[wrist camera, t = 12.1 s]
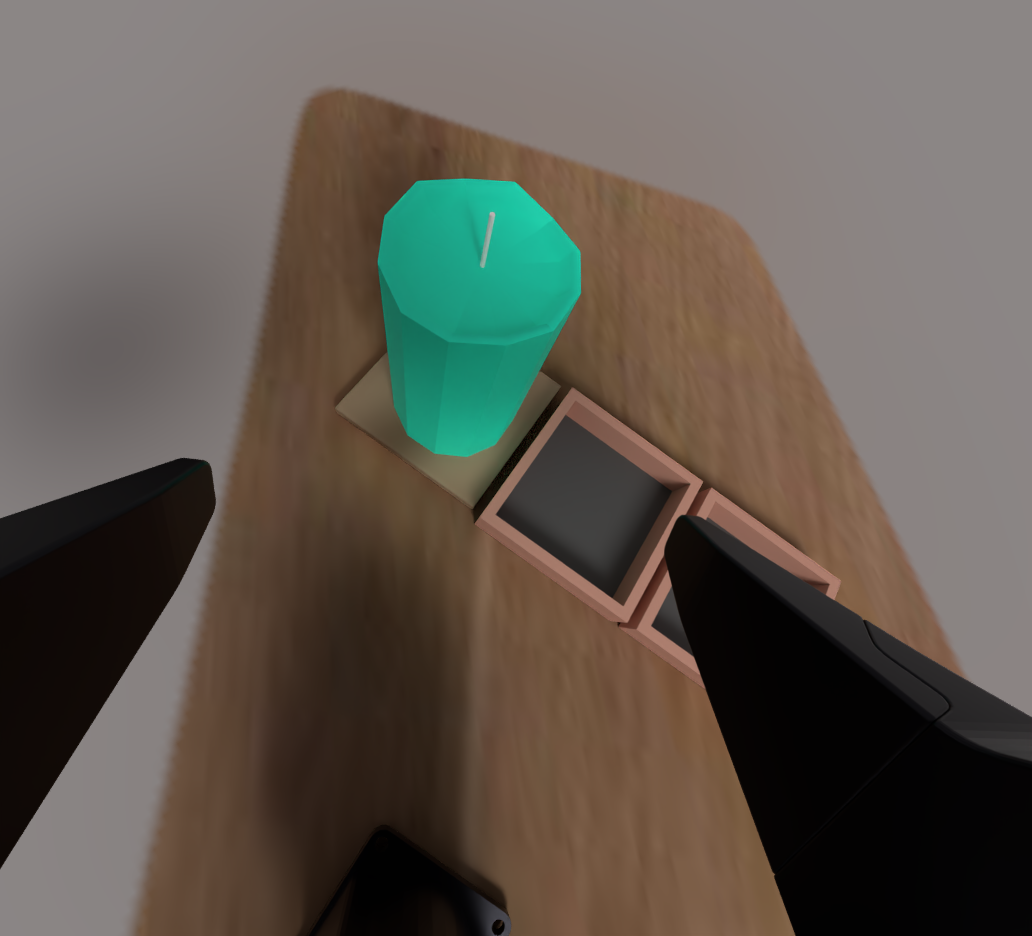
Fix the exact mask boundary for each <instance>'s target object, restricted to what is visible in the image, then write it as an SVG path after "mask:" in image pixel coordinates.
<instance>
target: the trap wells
mask: <svg viewBox="0 0 1032 936" xmlns="http://www.w3.org/2000/svg"><path fill="white" fill-rule="evenodd" d="M702 483H703V481H702V480H700V479H699V478H698V477H696V476H695V475H693V474H692V473H691V472H689V471H688V470H687V469H685V468H684V467H682V466H681V465H680V464H678V463H677V462H675V461H674V460H673V459H671V458H670V457H668V456H667V455H666V454H664V453H663V452H662V451H660V450H659V449H657V448H656V447H655V446H653V445H652V444H650V443H649V442H648V441H646V440H645V439H644V438H642V437H641V436H639V435H638V434H637V433H635V432H634V431H632V430H631V429H630V428H628V427H627V426H625V425H624V424H623V423H621V422H620V421H619V420H617V419H616V418H614V417H613V416H612V415H610V414H609V413H607V412H606V411H605V410H603V409H602V408H601V407H599V406H598V405H596V404H595V403H594V402H592V401H591V400H589V399H588V398H587V397H585V396H584V395H582V394H581V393H580V392H578V391H577V390H576V389H574V388H573V387H572V389H571V390H570V391H569V393H568V394H567V395H566V397H565V398H564V400H563V401H562V402H561V404H560V405H559V406H558V408H557V409H556V411H555V412H554V413H553V415H552V416H551V418H550V419H549V420H548V422H547V423H546V425H545V426H544V427H543V429H542V430H541V432H540V433H539V434H538V436H537V437H536V439H535V440H534V441H533V443H532V444H531V446H530V447H529V448H528V450H527V451H526V453H525V454H524V455H523V457H522V458H521V460H520V461H519V462H518V464H517V465H516V467H515V468H514V469H513V471H512V472H511V474H510V475H509V476H508V478H507V479H506V481H505V482H504V483H503V485H502V486H501V488H500V489H499V490H498V492H497V493H496V495H495V496H494V497H493V499H492V500H491V502H490V503H489V504H488V506H487V507H486V509H485V510H484V511H483V513H482V514H481V516H480V517H479V518H478V520H477V521H476V523H475V525H476V526H478V527H479V528H481V529H482V530H483V531H485V532H486V533H488V534H489V535H490V536H492V537H493V538H495V539H496V540H497V541H499V542H500V543H502V544H503V545H504V546H506V547H507V548H509V549H510V550H511V551H513V552H514V553H516V554H517V555H518V556H520V557H521V558H523V559H524V560H525V561H527V562H528V563H530V564H531V565H532V566H534V567H535V568H537V569H538V570H539V571H541V572H542V573H543V574H545V575H546V576H548V577H549V578H550V579H552V580H553V581H555V582H556V583H557V584H559V585H560V586H562V587H563V588H564V589H566V590H567V591H569V592H570V593H571V594H573V595H574V596H576V597H577V598H578V599H580V600H581V601H583V602H584V603H585V604H587V605H588V606H590V607H591V608H592V609H594V610H595V611H597V612H598V613H599V614H601V615H602V616H604V617H605V618H606V619H608V620H609V621H614V622H621V623H620V625H619V628H620V629H622V630H623V631H624V632H626V633H627V634H629V635H630V636H631V637H633V638H634V639H636V640H637V641H638V642H640V643H641V644H643V645H644V646H645V647H647V648H648V649H650V650H651V651H652V652H654V653H655V654H657V655H658V656H659V657H661V658H662V659H664V660H665V661H666V662H668V663H669V664H671V665H672V666H673V667H675V668H676V669H678V670H679V671H680V672H682V673H683V674H684V675H686V676H687V677H689V678H690V679H691V680H693V681H694V682H696V683H697V684H698V685H700V686H701V687H703V688H704V689H705V686H704V683H703V681H702V678H701V675H700V673H699V670H698V667H697V664H696V662H695V659H694V656H693V653H692V651H691V648H690V645H689V643H688V640H687V637H686V634H685V632H684V629H683V626H682V623H681V620H680V616H679V613H678V609H677V605H676V601H675V597H674V593H673V589H672V585H671V581H670V577H669V573H668V569H667V565H666V561H665V557H664V548H665V544H666V541H667V539H668V537H669V535H670V532H671V530H672V528H673V526H674V523H675V521H676V519H677V518H678V517H679V516H680V515H693V516H699V517H702V518H703V519H705V520H707V521H708V522H710V523H711V524H713V525H715V526H716V527H718V528H719V529H721V530H723V531H724V532H726V533H727V534H729V535H731V536H732V537H734V538H735V539H737V540H739V541H740V542H742V543H743V544H745V545H747V546H748V547H750V548H751V549H753V550H755V551H756V552H758V553H760V554H761V555H763V556H764V557H766V558H768V559H769V560H771V561H772V562H774V563H776V564H777V565H779V566H780V567H782V568H784V569H785V570H787V571H788V572H790V573H792V574H793V575H795V576H796V577H798V578H800V579H801V580H803V581H804V582H806V583H808V584H809V585H811V586H812V587H814V588H816V589H817V590H819V591H820V592H822V593H824V594H825V595H827V596H828V597H830V598H832V599H833V600H835V597H836V594H837V592H838V589H839V586H840V584H841V581H840V580H839V579H838V578H836V577H835V576H834V575H832V574H831V573H829V572H828V571H827V570H825V569H824V568H822V567H821V566H820V565H818V564H817V563H816V562H814V561H813V560H811V559H810V558H809V557H807V556H806V555H804V554H803V553H802V552H800V551H799V550H797V549H796V548H795V547H793V546H792V545H791V544H789V543H788V542H786V541H785V540H784V539H782V538H781V537H779V536H778V535H777V534H775V533H774V532H773V531H771V530H770V529H768V528H767V527H766V526H764V525H763V524H761V523H760V522H759V521H757V520H756V519H754V518H753V517H752V516H750V515H749V514H748V513H746V512H745V511H743V510H742V509H741V508H739V507H738V506H736V505H735V504H734V503H732V502H731V501H730V500H728V499H727V498H725V497H724V496H723V495H721V494H720V493H718V492H717V491H716V490H714V489H713V488H709V489H706V490H704V491H701V492H698V491H699V489H700V487H701V485H702ZM697 492H698V493H697ZM705 690H706V689H705Z"/></svg>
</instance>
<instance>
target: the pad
mask: <svg viewBox="0 0 1032 936" xmlns="http://www.w3.org/2000/svg"><path fill="white" fill-rule="evenodd" d="M560 387H561V386H560V385H559V384H558V383H556V382H555V381H553V380H552V379H551V378H549V377H548V376H546V375H545V374H544V373H542V372H541V371H540V370H539V372H538V374H537V376H536V378H535V380H534V382H533V383H532V385H531V387H530V389H529V391H528V393H527V395H526V396H525V398H524V400H523V402H522V404H521V406H520V408H519V409H518V411H517V413H516V415H515V417H514V419H513V421H512V422H511V424H510V425H509V426H508V428H507V429H506V431H505V432H504V433H503V435H502V436H501V438H500V439H499V440H498V442H497V443H496V445H494V446H491V447H489V448H487V449H484V450H482V451H480V452H477V453H475V454H473V455H471V456H468V457H462V456H452V455H443V454H434V453H433V452H431V451H430V450H428V449H427V448H426V447H424V446H423V445H421V444H420V443H418V442H417V441H415V440H414V439H412V438H411V437H409V436H408V435H407V433H406V431H405V429H404V427H403V425H402V423H401V420H400V418H399V416H398V414H397V412H396V410H395V408H394V401H393V393H392V384H391V375H390V367H389V358H388V351H387V352H386V353H385V354H384V355H383V356H382V357H381V359H380V360H379V361H378V362H377V363H376V364H375V365H374V366H373V367H372V368H371V369H370V370H369V371H368V373H367V374H366V375H365V376H364V377H363V378H362V379H361V380H360V381H359V382H358V383H357V384H356V385H355V387H354V388H353V389H352V390H351V391H350V392H349V393H348V394H347V395H346V396H345V397H344V398H343V399H342V401H341V402H340V403H339V404H338V405H337V406H336V407H335V410H336V412H337V413H338V414H339V415H341V416H342V417H343V418H345V419H346V420H348V421H349V422H350V423H352V424H353V425H355V426H356V427H357V428H359V429H360V430H362V431H363V432H364V433H366V434H367V435H369V436H370V437H371V438H373V439H374V440H376V441H377V442H378V443H380V444H381V445H383V446H384V447H385V448H387V449H388V450H389V451H391V452H392V453H394V454H395V455H396V456H398V457H399V458H401V459H402V460H403V461H405V462H406V463H408V464H409V465H410V466H412V467H413V468H415V469H416V470H417V471H419V472H420V473H422V474H423V475H424V476H426V477H427V478H429V479H430V480H431V481H433V482H434V483H436V484H437V485H438V486H440V487H441V488H443V489H444V490H445V491H447V492H448V493H449V494H451V495H452V496H454V497H455V498H456V499H458V500H459V501H461V502H462V503H463V504H465V505H466V506H468V507H469V508H470V509H473V508H474V506H475V505H476V503H477V502H478V501H479V499H480V498H481V496H482V495H483V494H484V492H485V491H486V490H487V488H488V487H489V485H490V484H491V483H492V481H493V480H494V479H495V477H496V476H497V474H498V473H499V472H500V470H501V469H502V468H503V466H504V465H505V463H506V462H507V461H508V459H509V458H510V457H511V455H512V454H513V452H514V451H515V450H516V448H517V447H518V446H519V444H520V443H521V441H522V440H523V439H524V437H525V436H526V435H527V433H528V432H529V430H530V429H531V428H532V426H533V425H534V424H535V422H536V421H537V419H538V418H539V417H540V415H541V414H542V412H543V411H544V410H545V408H546V407H547V406H548V404H549V403H550V401H551V400H552V399H553V397H554V396H555V395H556V393H557V392H558V390H559V389H560Z"/></svg>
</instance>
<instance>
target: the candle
mask: <svg viewBox="0 0 1032 936" xmlns="http://www.w3.org/2000/svg"><path fill="white" fill-rule="evenodd" d="M378 271H379V280H380V289H381V297H382V306H383V315H384V323H385V332H386V341H387V349H388V358H389V367H390V375H391V384H392V393H393V401H394V408H395V410H396V412H397V414H398V416H399V418H400V420H401V423H402V425H403V427H404V429H405V431H406V433H407V435H408V436H409V437H411V438H412V439H414V440H415V441H417V442H418V443H420V444H421V445H423V446H424V447H426V448H427V449H428V450H430V451H431V452H433V453H434V454H443V455H452V456H462V457H468V456H471V455H473V454H475V453H477V452H480V451H482V450H484V449H487V448H489V447H491V446H494V445H496V443H497V442H498V440H499V439H500V438H501V436H502V435H503V433H504V432H505V431H506V429H507V428H508V426H509V425H510V424H511V422H512V421H513V419H514V417H515V415H516V413H517V411H518V409H519V408H520V406H521V404H522V402H523V400H524V398H525V396H526V395H527V393H528V391H529V389H530V387H531V385H532V383H533V382H534V380H535V378H536V376H537V374H538V372H539V370H540V369H541V367H542V365H543V363H544V361H545V359H546V357H547V356H548V354H549V352H550V350H551V348H552V346H553V344H554V343H555V341H556V339H557V337H558V335H559V333H560V331H561V330H562V328H563V326H564V324H565V322H566V320H567V318H568V317H569V315H570V313H571V311H572V309H573V307H574V305H575V304H576V302H577V300H578V298H579V296H580V294H581V260H580V250H579V249H578V248H577V247H576V245H575V244H574V243H573V242H572V241H571V239H570V238H569V237H568V236H567V234H566V233H565V232H564V231H563V230H562V228H561V227H560V226H559V225H558V223H557V222H556V221H555V220H554V219H553V218H552V217H551V216H550V215H549V214H548V213H547V212H546V211H545V210H544V209H543V208H542V207H541V206H540V205H539V204H538V203H537V202H536V201H535V200H534V199H533V198H531V197H530V196H529V195H528V194H527V193H526V192H525V191H524V190H523V189H522V188H521V187H520V186H519V185H518V184H517V183H516V182H509V181H494V180H479V179H444V180H424V181H417V182H416V183H415V184H414V185H413V186H412V187H411V188H410V189H409V190H408V191H407V192H406V193H405V194H404V195H403V197H402V198H401V199H400V200H399V201H398V202H397V203H396V204H395V205H394V206H393V207H392V208H391V209H390V210H389V212H388V213H387V214H386V215H385V216H384V222H383V229H382V236H381V243H380V249H379V256H378Z"/></svg>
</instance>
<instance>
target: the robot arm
mask: <svg viewBox="0 0 1032 936" xmlns="http://www.w3.org/2000/svg"><path fill="white" fill-rule="evenodd" d="M215 505H216V498H215V491H214V484H213V477H212V470H211V466H210V464H209V463H208V462H206V461H204V460H198V459H189V458H180V459H176V460H173V461H170V462H167V463H164V464H161V465H158V466H155V467H152V468H149V469H146V470H143V471H140V472H137V473H134V474H131V475H128V476H125V477H123V478H119V479H116V480H114V481H111V482H108V483H104V484H102V485H98V486H96V487H93V488H90V489H87V490H84V491H81V492H78V493H75V494H72V495H69V496H66V497H63V498H60V499H57V500H54V501H51V502H48V503H45V504H42V505H39V506H36V507H33V508H30V509H27V510H24V511H21V512H18V513H15V514H12V515H9V516H6V517H3V518H0V869H1V867H2V865H3V864H4V862H5V861H6V859H7V857H8V856H9V854H10V853H11V851H12V849H13V848H14V846H15V845H16V843H17V842H18V840H19V838H20V837H21V835H22V834H23V832H24V830H25V829H26V827H27V826H28V824H29V822H30V821H31V819H32V818H33V816H34V815H35V813H36V811H37V810H38V808H39V807H40V805H41V804H42V802H43V800H44V799H45V797H46V795H47V794H48V792H49V791H50V789H51V788H52V786H53V784H54V783H55V781H56V780H57V778H58V777H59V775H60V773H61V772H62V770H63V769H64V767H65V765H66V764H67V762H68V761H69V759H70V757H71V756H72V754H73V753H74V751H75V750H76V748H77V746H78V745H79V743H80V742H81V740H82V739H83V737H84V735H85V734H86V732H87V731H88V729H89V727H90V726H91V724H92V723H93V721H94V719H95V718H96V716H97V715H98V713H99V711H100V710H101V708H102V707H103V705H104V703H105V702H106V700H107V699H108V697H109V696H110V694H111V693H112V691H113V689H114V688H115V686H116V685H117V683H118V681H119V680H120V678H121V677H122V675H123V673H124V672H125V670H126V669H127V667H128V665H129V664H130V662H131V661H132V659H133V658H134V656H135V654H136V653H137V651H138V650H139V648H140V647H141V645H142V643H143V642H144V640H145V639H146V637H147V635H148V634H149V632H150V631H151V629H152V628H153V626H154V624H155V622H156V621H157V619H158V618H159V616H160V615H161V613H162V612H163V610H164V608H165V607H166V605H167V603H168V602H169V601H170V599H171V597H172V596H173V594H174V592H175V591H176V589H177V587H178V585H179V584H180V582H181V580H182V578H183V576H184V574H185V572H186V570H187V568H188V566H189V564H190V562H191V559H192V557H193V555H194V553H195V551H196V549H197V547H198V545H199V543H200V540H201V538H202V536H203V534H204V532H205V530H206V528H207V526H208V523H209V521H210V519H211V517H212V515H213V513H214V510H215ZM664 557H665V561H666V565H667V569H668V573H669V577H670V581H671V585H672V589H673V593H674V597H675V601H676V605H677V609H678V613H679V616H680V620H681V623H682V626H683V629H684V632H685V634H686V637H687V640H688V643H689V645H690V648H691V651H692V653H693V656H694V659H695V662H696V664H697V667H698V670H699V673H700V675H701V678H702V681H703V683H704V686H705V689H706V692H707V694H708V697H709V700H710V703H711V705H712V708H713V711H714V714H715V716H716V719H717V722H718V724H719V727H720V730H721V733H722V735H723V738H724V741H725V744H726V746H727V749H728V752H729V754H730V757H731V760H732V763H733V765H734V768H735V771H736V774H737V776H738V779H739V782H740V785H741V787H742V790H743V793H744V795H745V798H746V801H747V804H748V806H749V809H750V812H751V815H752V817H753V820H754V823H755V825H756V828H757V831H758V834H759V836H760V839H761V842H762V845H763V847H764V850H765V853H766V856H767V858H768V861H769V864H770V866H771V869H772V872H773V873H774V874H775V875H774V878H775V881H776V884H777V886H778V889H779V892H780V895H781V897H782V900H783V903H784V906H785V908H786V911H787V914H788V916H789V919H790V922H791V925H792V927H793V930H794V933H795V936H1032V717H1031V716H1029V715H1027V714H1025V713H1024V712H1022V711H1020V710H1018V709H1016V708H1015V707H1013V706H1011V705H1009V704H1008V703H1006V702H1004V701H1003V700H1001V699H999V698H997V697H996V696H994V695H992V694H990V693H988V692H987V691H985V690H983V689H982V688H980V687H978V686H976V685H975V684H973V683H971V682H969V681H968V680H966V679H964V678H962V677H961V676H959V675H957V674H955V673H954V672H952V671H950V670H948V669H947V668H945V667H943V666H942V665H940V664H938V663H936V662H935V661H933V660H931V659H930V658H928V657H926V656H924V655H923V654H921V653H919V652H918V651H916V650H914V649H913V648H911V647H909V646H908V645H906V644H904V643H903V642H901V641H900V640H898V639H896V638H895V637H893V636H891V635H890V634H888V633H886V632H885V631H883V630H882V629H880V628H878V627H877V626H875V625H874V624H872V623H870V622H869V621H867V620H863V619H862V618H861V617H860V616H859V615H857V614H856V613H854V612H853V611H851V610H849V609H848V608H846V607H845V606H843V605H841V604H840V603H838V602H836V601H835V600H833V599H832V598H830V597H828V596H827V595H825V594H824V593H822V592H820V591H819V590H817V589H816V588H814V587H812V586H811V585H809V584H808V583H806V582H804V581H803V580H801V579H800V578H798V577H796V576H795V575H793V574H792V573H790V572H788V571H787V570H785V569H784V568H782V567H780V566H779V565H777V564H776V563H774V562H772V561H771V560H769V559H768V558H766V557H764V556H763V555H761V554H760V553H758V552H756V551H755V550H753V549H751V548H750V547H748V546H747V545H745V544H743V543H742V542H740V541H739V540H737V539H735V538H734V537H732V536H731V535H729V534H727V533H726V532H724V531H723V530H721V529H719V528H718V527H716V526H715V525H713V524H711V523H710V522H708V521H707V520H705V519H703V518H702V517H699V516H693V515H680V516H679V517H678V518H677V519H676V521H675V523H674V526H673V528H672V530H671V532H670V535H669V537H668V539H667V541H666V544H665V548H664ZM380 837H385V838H387V840H388V844H387V845H386V846H385V847H382V848H381V847H378V846H377V845H376V841H377V840H378V838H380ZM498 919H500V920H503V923H502V925H501V927H500V928H497V929H495V928H493V927H492V925H493V923H494V922H495V920H498ZM510 930H511V921H510V918H509V914H508V912H507V910H506V909H505V908H504V907H503V906H502V905H500V904H499V903H497V902H496V901H495V900H493V899H492V898H490V897H489V896H488V895H486V894H485V893H483V892H482V891H481V890H479V889H478V888H476V887H475V886H473V885H472V884H471V883H469V882H468V881H466V880H465V879H464V878H462V877H461V876H459V875H458V874H457V873H455V872H454V871H452V870H451V869H449V868H448V867H447V866H445V865H444V864H442V863H441V862H440V861H438V860H437V859H435V858H434V857H432V856H431V855H430V854H428V853H427V852H425V851H424V850H423V849H421V848H420V847H418V846H417V845H416V844H414V843H413V842H411V841H410V840H408V839H407V838H406V837H404V836H403V835H401V834H400V833H399V832H397V831H396V830H394V829H393V828H392V827H390V826H387V825H381V826H379V827H377V828H375V830H374V831H373V832H372V833H371V835H370V836H369V838H368V839H367V841H366V843H365V844H364V846H363V847H362V849H361V850H360V852H359V854H358V855H357V857H356V858H355V860H354V861H353V863H352V865H351V866H350V868H349V869H348V871H347V873H346V874H345V876H344V877H343V879H342V880H341V882H340V884H339V885H338V887H337V888H336V890H335V891H334V893H333V895H332V896H331V898H330V899H329V901H328V902H327V904H326V906H325V907H324V909H323V910H322V912H321V913H320V915H319V917H318V918H317V920H316V921H315V923H314V924H313V926H312V928H311V929H310V931H309V932H308V934H307V936H509V933H510Z"/></svg>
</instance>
